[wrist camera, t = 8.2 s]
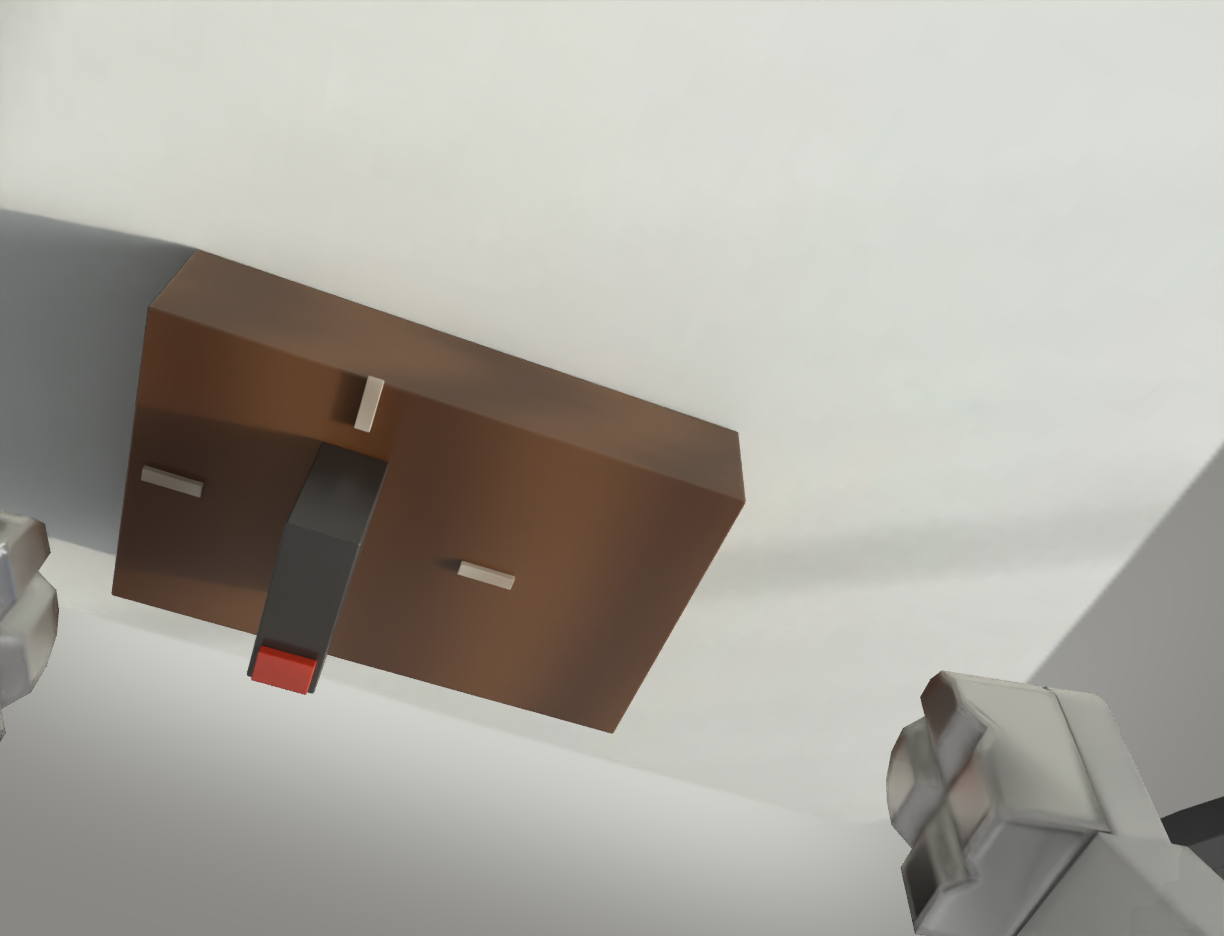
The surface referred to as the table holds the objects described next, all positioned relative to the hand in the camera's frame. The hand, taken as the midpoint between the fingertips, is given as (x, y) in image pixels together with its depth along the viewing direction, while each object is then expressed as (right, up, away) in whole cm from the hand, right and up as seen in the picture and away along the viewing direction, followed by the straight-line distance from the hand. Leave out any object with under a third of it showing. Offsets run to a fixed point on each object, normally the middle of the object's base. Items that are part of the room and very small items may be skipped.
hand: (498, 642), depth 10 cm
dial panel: (-4, +1, +19) cm, 19 cm away
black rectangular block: (-6, 0, +16) cm, 17 cm away
